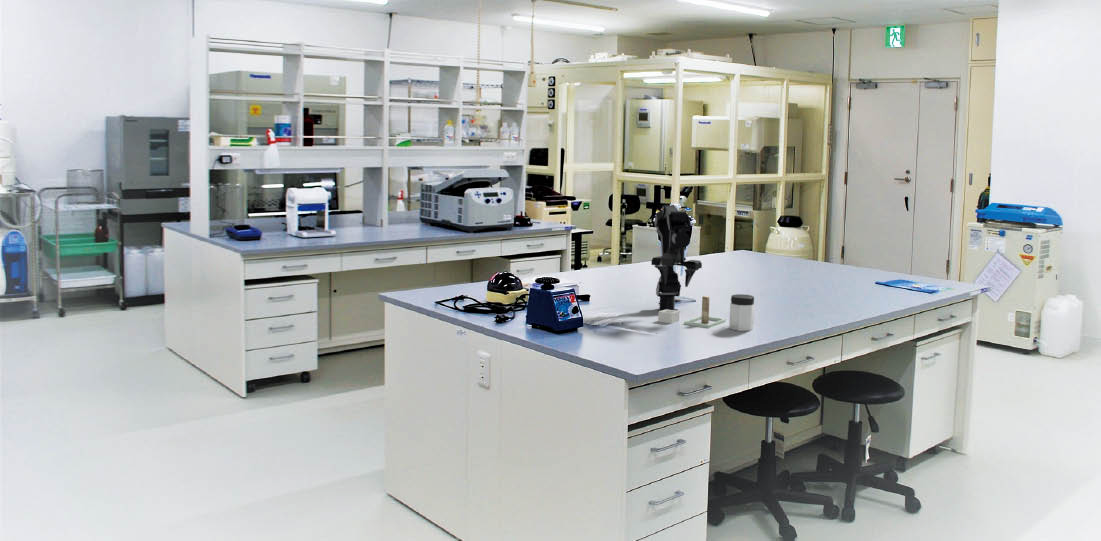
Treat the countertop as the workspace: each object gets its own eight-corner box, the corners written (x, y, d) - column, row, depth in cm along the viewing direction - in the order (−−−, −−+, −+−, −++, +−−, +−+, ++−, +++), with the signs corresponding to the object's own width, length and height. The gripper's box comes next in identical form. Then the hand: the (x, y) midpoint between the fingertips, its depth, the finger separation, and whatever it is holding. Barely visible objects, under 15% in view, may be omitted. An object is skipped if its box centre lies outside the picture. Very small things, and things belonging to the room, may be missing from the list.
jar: (732, 325, 330) (734, 293, 328) (754, 327, 326) (756, 295, 324) (727, 329, 322) (728, 297, 320) (749, 332, 318) (751, 299, 316)
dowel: (703, 322, 331) (704, 295, 329) (709, 323, 329) (710, 296, 328) (700, 323, 329) (701, 296, 327) (706, 324, 327) (707, 297, 326)
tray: (701, 320, 338) (701, 315, 337) (725, 323, 332) (726, 319, 332) (684, 326, 327) (684, 321, 326) (708, 330, 321) (708, 325, 320)
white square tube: (665, 321, 335) (666, 309, 335) (678, 323, 332) (679, 311, 331) (658, 323, 331) (658, 311, 330) (671, 325, 328) (671, 313, 327)
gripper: (644, 244, 334) (643, 285, 336) (688, 248, 323) (687, 291, 325) (659, 241, 343) (658, 281, 345) (703, 245, 332) (701, 287, 334)
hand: (675, 285), depth 337 cm, fingers open, 9 cm apart
